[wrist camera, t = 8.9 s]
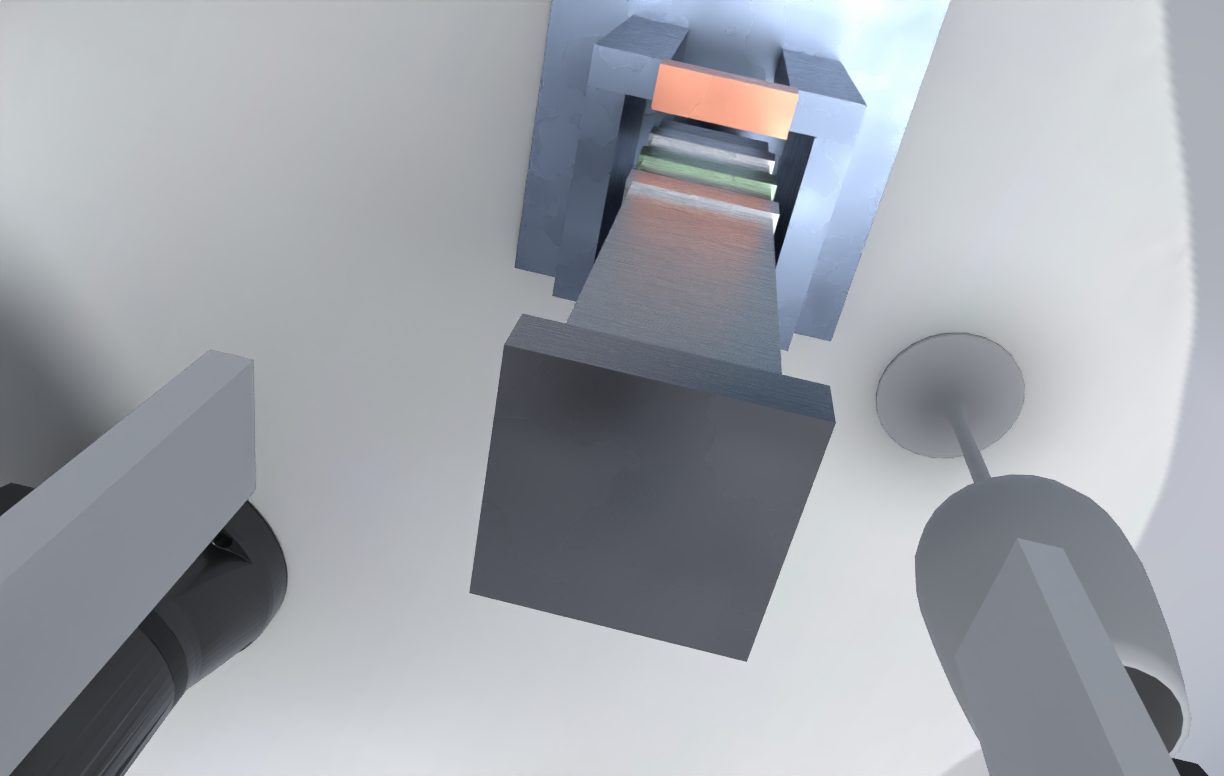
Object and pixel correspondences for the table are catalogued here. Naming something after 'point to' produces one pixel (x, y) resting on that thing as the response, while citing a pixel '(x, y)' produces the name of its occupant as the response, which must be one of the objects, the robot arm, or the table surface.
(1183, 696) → the wineglass
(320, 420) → the table surface
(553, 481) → the column
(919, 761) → the table surface
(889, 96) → the stand
